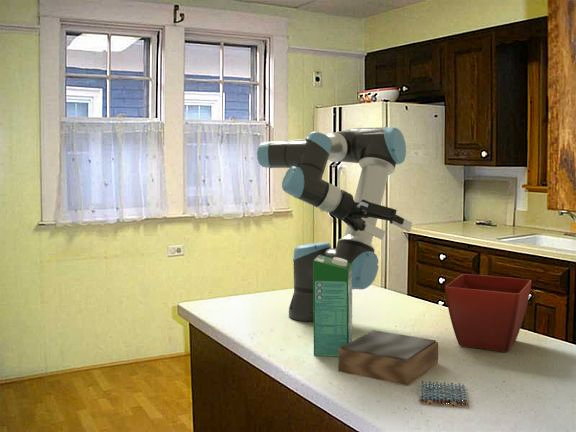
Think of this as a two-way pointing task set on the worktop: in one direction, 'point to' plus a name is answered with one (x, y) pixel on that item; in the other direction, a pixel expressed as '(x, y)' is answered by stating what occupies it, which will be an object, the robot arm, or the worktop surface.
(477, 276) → the plant pot
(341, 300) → the milk carton
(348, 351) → the podium
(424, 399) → the woven mat
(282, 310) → the worktop surface
